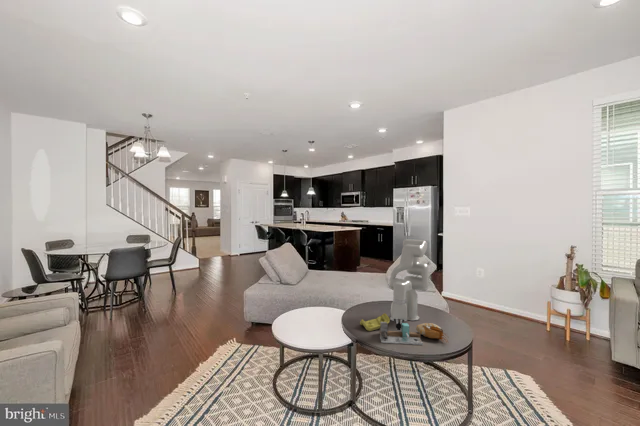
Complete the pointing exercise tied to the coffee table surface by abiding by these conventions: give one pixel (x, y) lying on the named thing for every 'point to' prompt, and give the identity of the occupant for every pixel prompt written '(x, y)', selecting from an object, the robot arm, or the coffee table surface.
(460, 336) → the coffee table surface
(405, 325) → the block
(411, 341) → the bolt plate
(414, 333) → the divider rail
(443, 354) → the coffee table surface
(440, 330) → the nautilus
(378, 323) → the plastic component
